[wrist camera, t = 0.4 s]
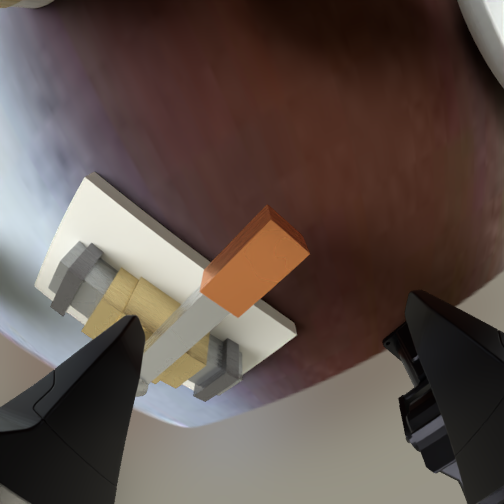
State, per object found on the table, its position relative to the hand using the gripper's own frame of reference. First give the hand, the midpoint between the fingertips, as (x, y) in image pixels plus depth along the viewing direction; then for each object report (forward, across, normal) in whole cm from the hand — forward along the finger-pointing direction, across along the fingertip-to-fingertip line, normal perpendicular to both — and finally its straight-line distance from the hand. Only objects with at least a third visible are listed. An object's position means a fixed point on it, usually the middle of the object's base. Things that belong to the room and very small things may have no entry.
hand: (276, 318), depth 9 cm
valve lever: (+6, +5, +4) cm, 9 cm away
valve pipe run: (+11, +9, +8) cm, 16 cm away
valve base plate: (+12, +9, +8) cm, 17 cm away
